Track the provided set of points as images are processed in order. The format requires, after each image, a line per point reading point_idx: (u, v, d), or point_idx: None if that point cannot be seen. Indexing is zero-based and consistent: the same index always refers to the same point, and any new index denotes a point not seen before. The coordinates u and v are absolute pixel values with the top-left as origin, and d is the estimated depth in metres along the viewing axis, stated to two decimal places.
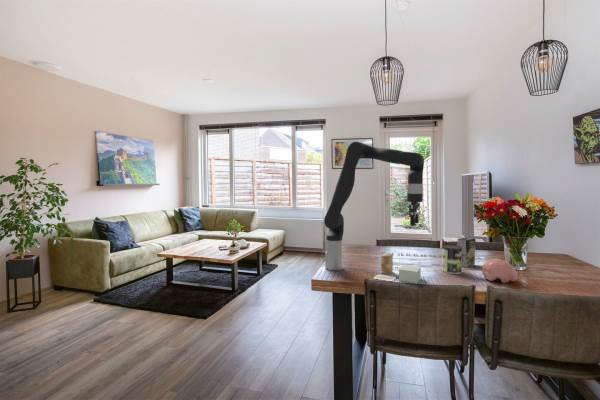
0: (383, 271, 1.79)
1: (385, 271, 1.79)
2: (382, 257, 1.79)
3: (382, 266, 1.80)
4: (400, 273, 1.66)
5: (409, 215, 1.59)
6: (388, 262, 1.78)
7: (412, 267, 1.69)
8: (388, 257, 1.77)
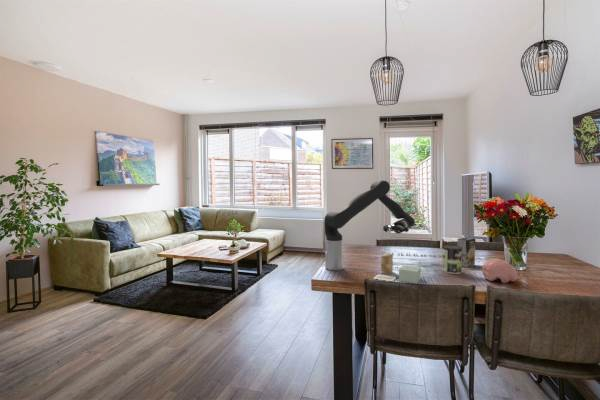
0: (383, 271, 1.79)
1: (385, 271, 1.79)
2: (382, 257, 1.79)
3: (382, 266, 1.80)
4: (400, 273, 1.66)
5: (407, 228, 1.89)
6: (388, 262, 1.78)
7: (412, 267, 1.69)
8: (388, 257, 1.77)
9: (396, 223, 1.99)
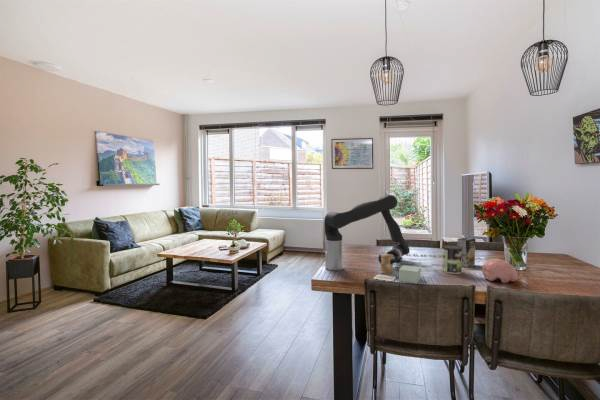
0: (383, 271, 1.79)
1: (385, 271, 1.79)
2: (382, 257, 1.79)
3: (382, 266, 1.80)
4: (400, 273, 1.66)
5: (398, 259, 1.80)
6: (388, 262, 1.78)
7: (412, 267, 1.69)
8: (388, 257, 1.77)
9: (390, 252, 1.89)
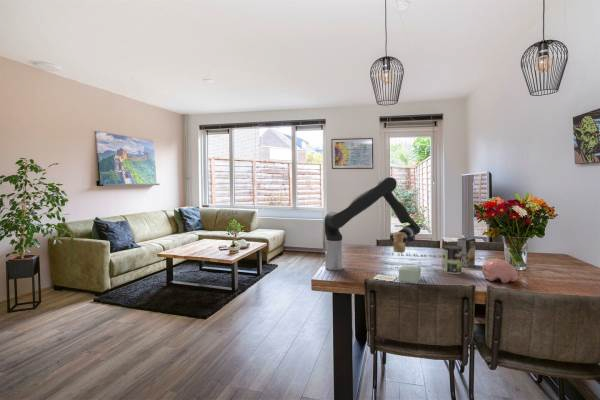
0: (395, 250, 1.72)
1: (398, 250, 1.71)
2: (394, 235, 1.72)
3: (394, 245, 1.72)
4: (400, 273, 1.66)
5: (411, 237, 1.72)
6: (401, 240, 1.70)
7: (412, 267, 1.69)
8: (401, 235, 1.70)
9: (401, 231, 1.82)
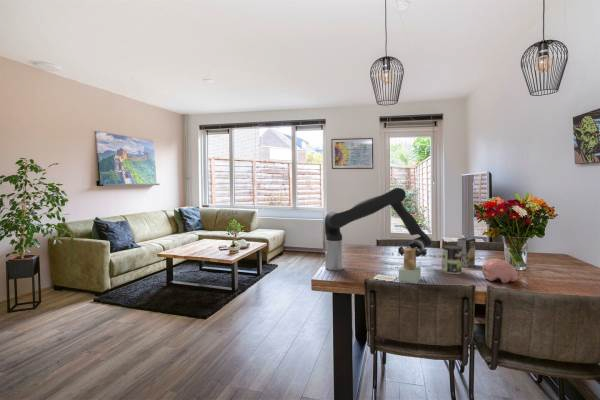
0: (406, 267, 1.66)
1: (408, 267, 1.65)
2: (405, 252, 1.66)
3: (405, 261, 1.66)
4: (400, 273, 1.66)
5: (424, 251, 1.66)
6: (412, 257, 1.64)
7: None
8: (412, 252, 1.64)
9: (412, 244, 1.75)
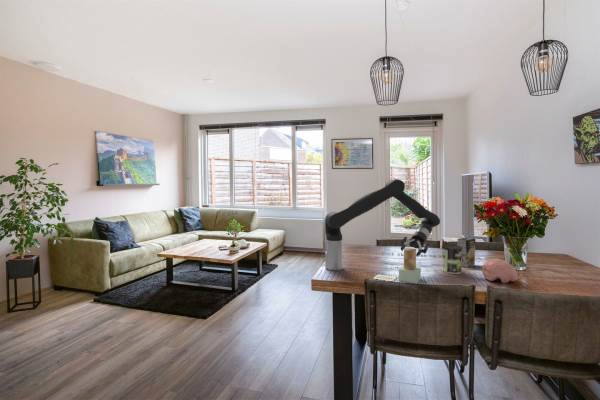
0: (406, 267, 1.66)
1: (408, 267, 1.65)
2: (405, 252, 1.66)
3: (405, 261, 1.66)
4: (400, 273, 1.66)
5: (426, 249, 1.75)
6: (412, 257, 1.64)
7: None
8: (412, 252, 1.64)
9: (416, 236, 1.83)
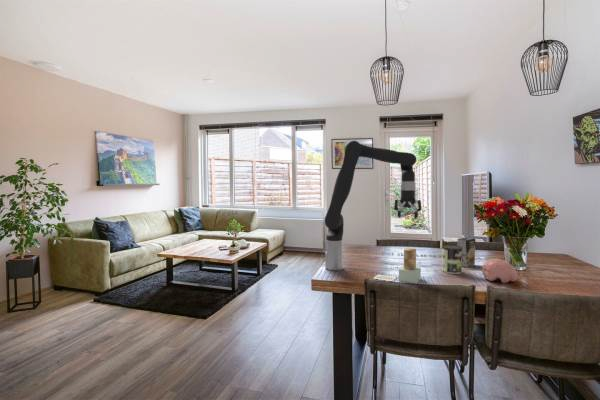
0: (406, 267, 1.66)
1: (408, 267, 1.65)
2: (405, 252, 1.66)
3: (405, 261, 1.66)
4: (400, 273, 1.66)
5: (420, 209, 1.77)
6: (412, 257, 1.64)
7: None
8: (412, 252, 1.64)
9: (405, 198, 1.79)
